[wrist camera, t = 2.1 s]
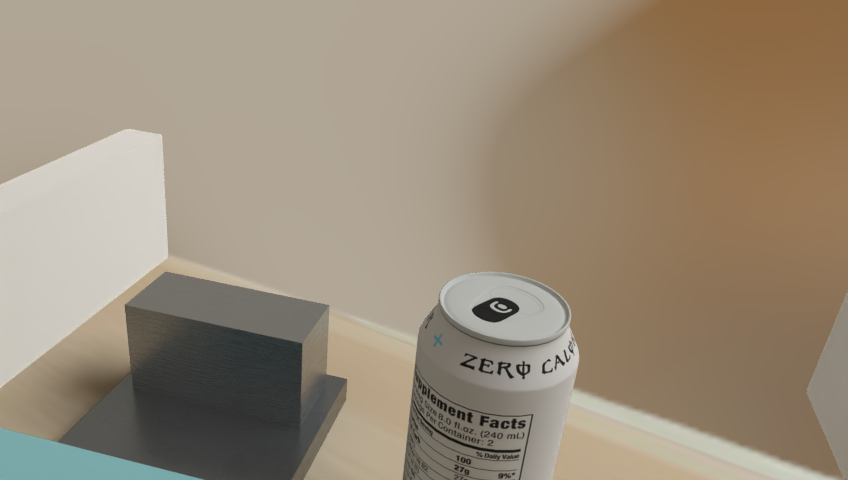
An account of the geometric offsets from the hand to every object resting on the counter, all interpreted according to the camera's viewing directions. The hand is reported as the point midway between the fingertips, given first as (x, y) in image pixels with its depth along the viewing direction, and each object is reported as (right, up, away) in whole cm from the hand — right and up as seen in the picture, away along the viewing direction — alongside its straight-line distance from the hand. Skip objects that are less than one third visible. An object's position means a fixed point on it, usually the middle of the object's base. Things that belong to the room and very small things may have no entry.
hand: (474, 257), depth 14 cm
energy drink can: (+1, -16, +19) cm, 25 cm away
